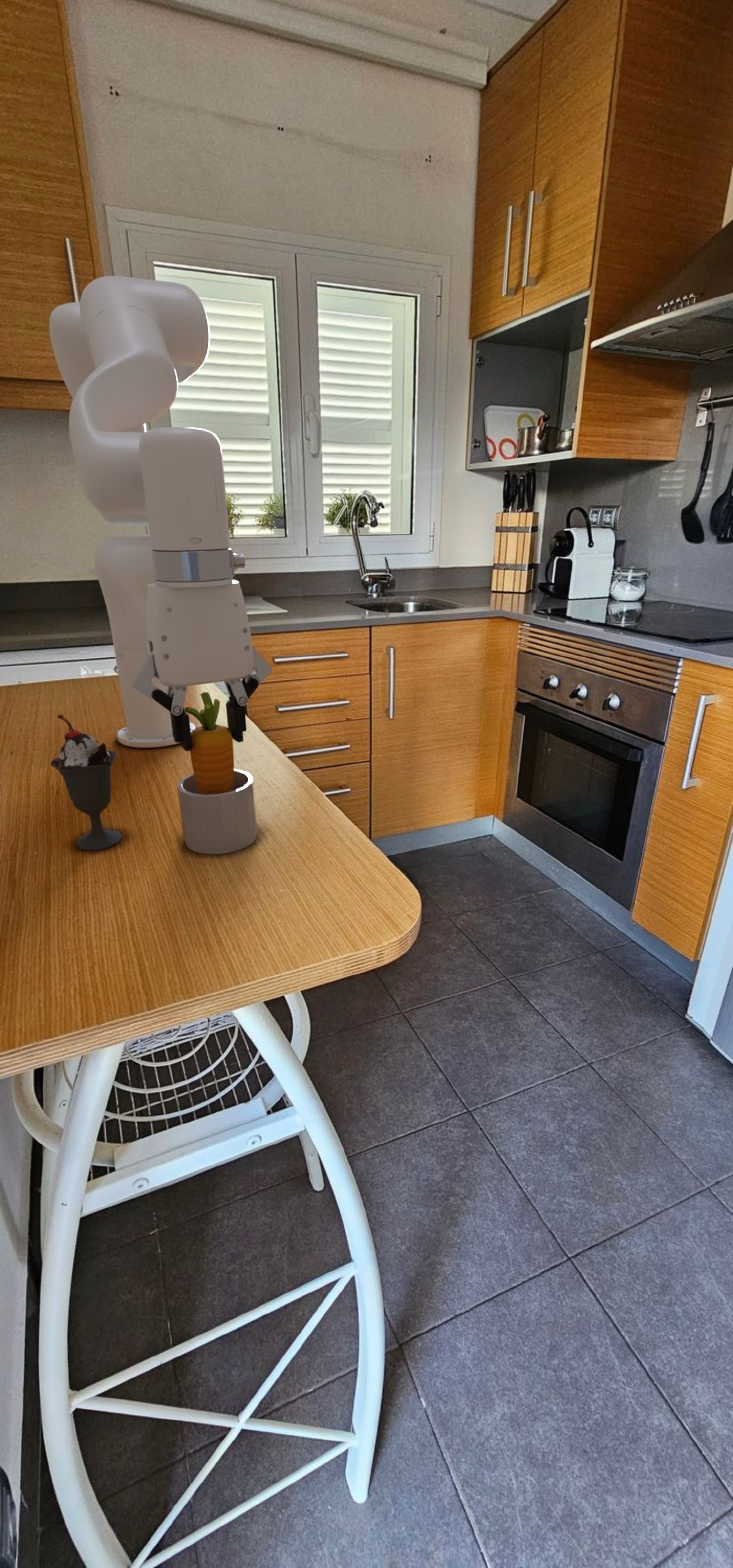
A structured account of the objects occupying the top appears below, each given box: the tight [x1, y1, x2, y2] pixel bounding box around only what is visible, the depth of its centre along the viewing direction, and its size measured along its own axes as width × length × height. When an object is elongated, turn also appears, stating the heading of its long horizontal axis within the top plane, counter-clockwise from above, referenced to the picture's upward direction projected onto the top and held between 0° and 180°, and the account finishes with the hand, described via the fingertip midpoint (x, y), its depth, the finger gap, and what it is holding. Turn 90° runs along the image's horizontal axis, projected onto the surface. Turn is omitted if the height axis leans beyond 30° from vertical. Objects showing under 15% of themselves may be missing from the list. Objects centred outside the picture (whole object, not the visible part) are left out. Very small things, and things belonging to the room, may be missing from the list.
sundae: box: [50, 714, 123, 851], centre depth 75 cm, size 7×7×15 cm
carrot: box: [184, 691, 235, 795], centre depth 75 cm, size 5×5×15 cm
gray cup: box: [176, 768, 258, 855], centre depth 77 cm, size 8×8×7 cm
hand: (211, 741), depth 74 cm, fingers closed on carrot, 5 cm apart
